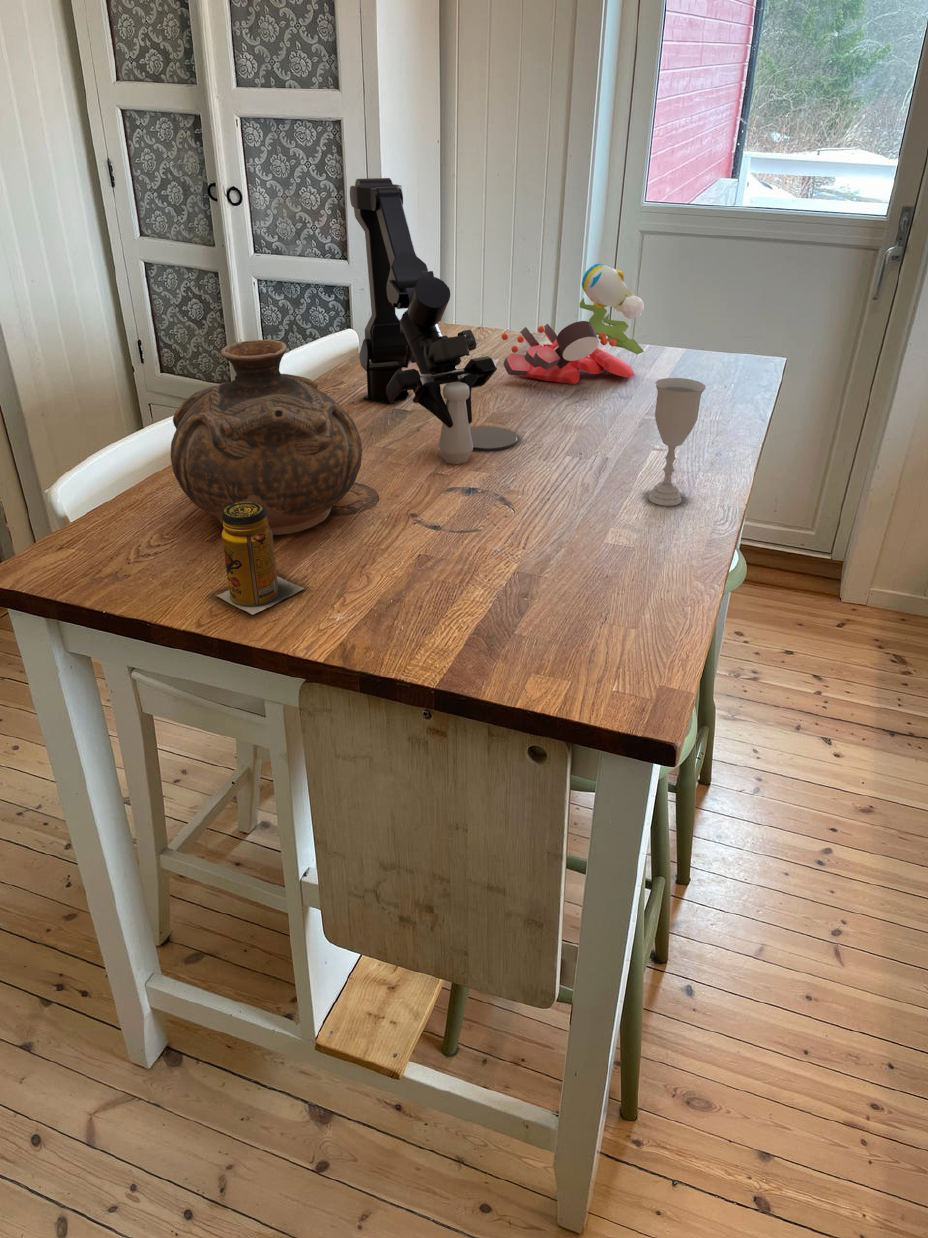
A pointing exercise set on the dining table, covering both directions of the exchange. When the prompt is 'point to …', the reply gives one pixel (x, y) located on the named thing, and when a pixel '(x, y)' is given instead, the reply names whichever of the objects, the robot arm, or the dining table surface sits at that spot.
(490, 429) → the coaster
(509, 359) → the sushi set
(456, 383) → the salt shaker
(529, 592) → the dining table surface
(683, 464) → the dining table surface
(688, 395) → the chalice
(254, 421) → the vessel
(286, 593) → the condiment
